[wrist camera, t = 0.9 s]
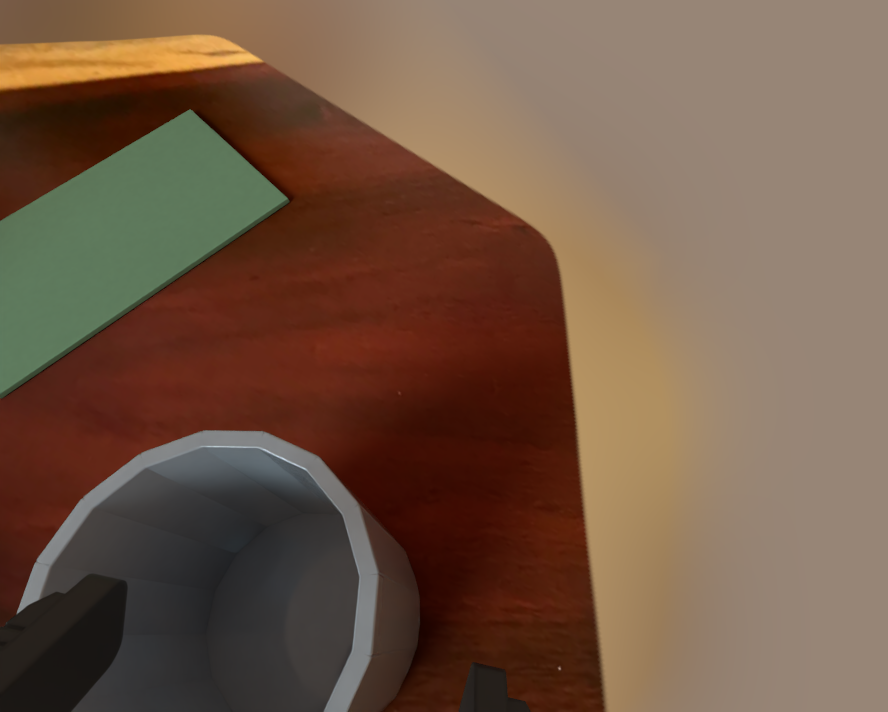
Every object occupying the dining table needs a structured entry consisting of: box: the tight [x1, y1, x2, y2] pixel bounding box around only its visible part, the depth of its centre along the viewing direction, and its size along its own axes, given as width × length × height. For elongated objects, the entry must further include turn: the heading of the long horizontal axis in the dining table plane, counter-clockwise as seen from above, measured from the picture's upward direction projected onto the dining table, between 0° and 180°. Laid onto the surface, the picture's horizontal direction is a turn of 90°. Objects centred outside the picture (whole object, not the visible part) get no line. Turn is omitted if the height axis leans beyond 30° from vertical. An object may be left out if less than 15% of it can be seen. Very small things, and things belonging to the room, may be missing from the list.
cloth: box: [0, 109, 289, 398], centre depth 39 cm, size 22×14×1 cm, turn 133°
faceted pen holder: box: [16, 430, 420, 712], centre depth 21 cm, size 11×11×12 cm
